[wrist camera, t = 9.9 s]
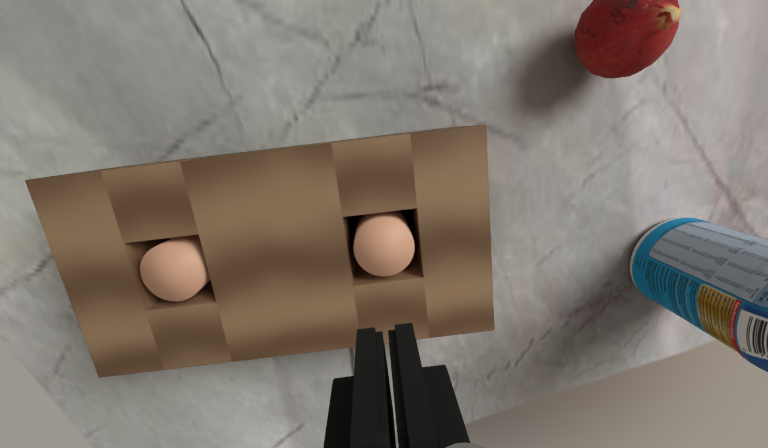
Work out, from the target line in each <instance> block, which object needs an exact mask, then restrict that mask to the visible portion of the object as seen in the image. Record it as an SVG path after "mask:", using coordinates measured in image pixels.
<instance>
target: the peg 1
mask: <svg viewBox="0 0 768 448" xmlns="http://www.w3.org/2000/svg"><path fill="white" fill-rule="evenodd" d="M140 274H141V278H142V280H143V282H144V284H145V286H146V287H147V288H148V289H149V290H150V291H151V292H152V293H153V294H154V295H156V296H158V297H160V298H162V299H164V300H168V301H183V300H186V299H189V298H191V297H192V296H194V295H195V294H196V293H197V292H198V291H199V290H200V289H201V288H203V287H204V286H205V285H206V284H207V283H208V282H209V281H210V276H209V272H208V268H207V264H206V260H205V257H204V253H203V249H202V245H201V241H200V237H199V234H197V235H189V236H180V237H172V238H170V239H169V240H167V241H165V242H163V243H161V244H159V245H157V246H155V247H153V248H152V249H150V250H149V251H148V252H147V253H146V254H145V255H144V257H143V258H142V261H141V264H140Z"/></svg>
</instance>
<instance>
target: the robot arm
mask: <svg viewBox="0 0 768 448" xmlns="http://www.w3.org/2000/svg"><path fill="white" fill-rule="evenodd" d="M388 336H389V347H390V358H391V369H392V380H393V391H394V402H395V413H396V424H397V434H398V443H399V448H483V447H481V446H479V445H476V444H471V443H470V441H469V438H468V434H467V431H466V428H465V425H464V422H463V418H462V415H461V412H460V409H459V406H458V403H457V399H456V396H455V393H454V390H453V387H452V384H451V380H450V377H449V374H448V371H447V368H446V366H445V365H438V366H430V367H422V366H421V361H420V356H419V352H418V347H417V342H416V338H415V333H414V328H413V324H412V323H404V324H396V325H395V330H388ZM324 448H396V441H395V429H394V417H393V407H392V399H391V392H390V384H389V376H388V369H387V361H386V354H385V346H384V339H383V332H382V331H379V332H376V330H375V327H371V328H363V329H357V334H356V351H355V368H354V376H350V377H342V378H334V380H333V384H332V391H331V398H330V405H329V412H328V419H327V427H326V434H325V441H324Z"/></svg>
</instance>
